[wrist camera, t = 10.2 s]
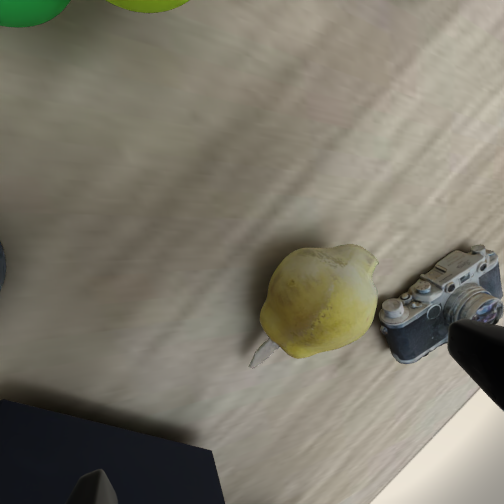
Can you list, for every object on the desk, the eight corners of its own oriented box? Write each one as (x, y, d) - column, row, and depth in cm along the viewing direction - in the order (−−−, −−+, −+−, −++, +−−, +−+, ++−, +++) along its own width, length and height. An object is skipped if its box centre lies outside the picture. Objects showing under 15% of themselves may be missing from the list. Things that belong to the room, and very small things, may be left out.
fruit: (205, 341, 21) (296, 204, 18) (271, 346, 25) (353, 234, 22) (250, 425, 17) (374, 265, 14) (319, 415, 21) (426, 288, 18)
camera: (365, 306, 24) (408, 339, 20) (476, 233, 25) (536, 251, 22) (382, 354, 26) (424, 391, 23) (484, 285, 28) (539, 309, 24)
